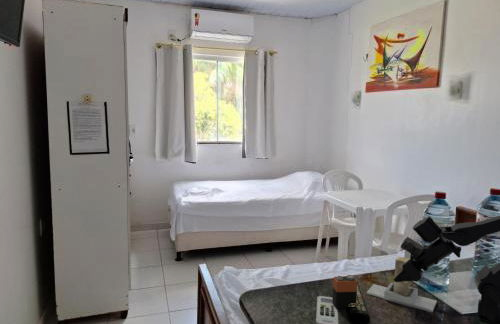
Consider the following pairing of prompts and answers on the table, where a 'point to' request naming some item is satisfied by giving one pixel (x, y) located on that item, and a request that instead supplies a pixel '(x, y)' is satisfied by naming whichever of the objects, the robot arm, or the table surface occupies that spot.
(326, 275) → the table surface
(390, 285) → the grey base plate
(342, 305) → the battery
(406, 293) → the ash hinge pin
